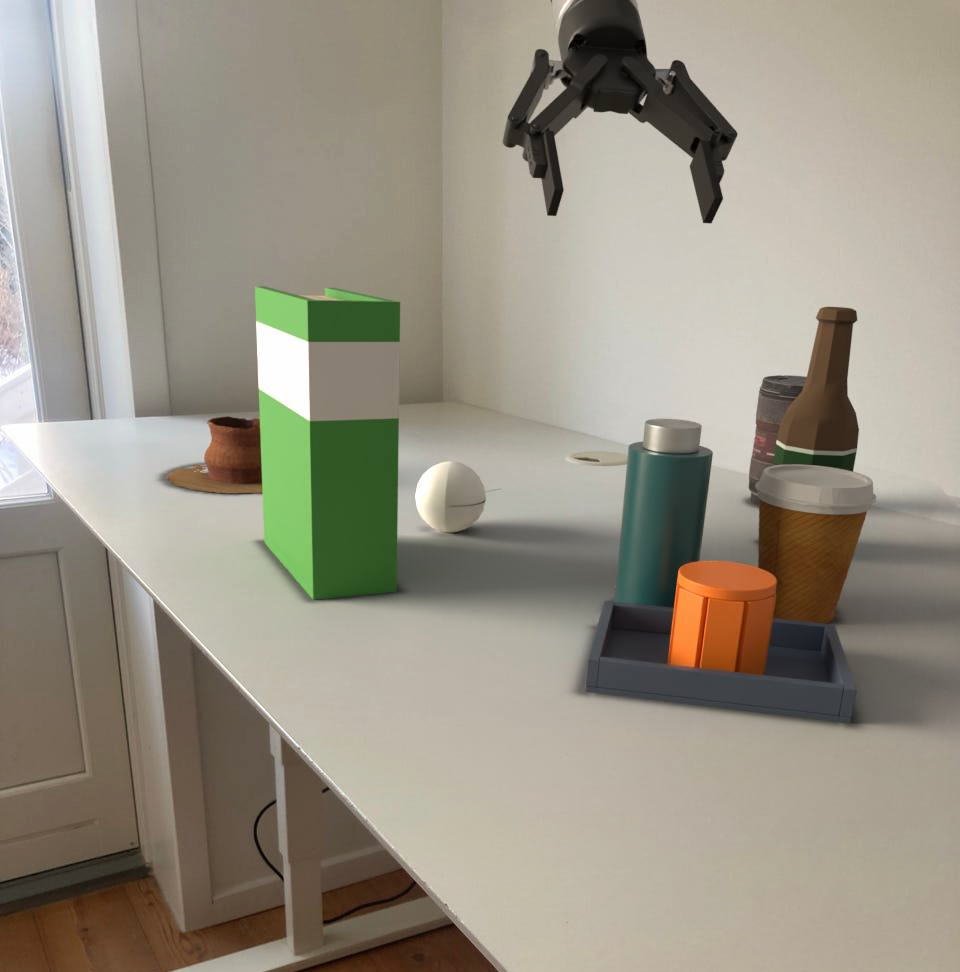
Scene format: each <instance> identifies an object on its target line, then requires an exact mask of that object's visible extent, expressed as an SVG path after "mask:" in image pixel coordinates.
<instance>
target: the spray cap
mask: <svg viewBox="0 0 960 972" xmlns="http://www.w3.org/2000/svg"><path fill="white" fill-rule="evenodd" d="M776 585H777V579H776V577H775V576H774V575H772V574H771V573H769V572H767V571H765V570H763V569H760V568H758V566H754V565H750V564H746V563H741V562H735V561H727V560H700V561H697V562H692V563H688V564H685V565H683V566H681V567H680V569H679V571H678V578H677V587H676V596H675V604H674V613H673V621H672V630H671V638H670V647H669V656H668V664H670V665H679V666H687V667H696V668H705V669H714V670H722V671H731V672H740V673H749V674H758V675H764V672H765V666H766V659H767V653H768V647H769V640H770V634H771V627H772V621H773V614H774V608H775V601H776V592H775V591H776Z"/></svg>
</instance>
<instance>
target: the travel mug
mask: <svg viewBox="0 0 960 972" xmlns="http://www.w3.org/2000/svg"><path fill="white" fill-rule="evenodd" d="M806 378H807V376H803V375H786V374H785V375H784V374H783V375H769V376H765V377H762V381H761V386H759V390H758V396H757V397H758V398H757V405H756V413H755V425H756V426H755V430H754V431H755V432H754V433H755V435H754V440H753V446H752V453H751V458H750V463H749V472H748V490H749V491H750V504H751V505H753V506H755V507H758V508H759V498H758V496H757V493H758V491H757V490H756V489H755V485H756V483H757V482H759V481H760V479H761V476H762V474H763V471H764V469H765V468H767V467H770V466H773V461H774V455H775V448H776V441H777V436H778V432H779V427H780V423H781V420H782V419H783V417H784V415H785V413H786V411H787V409H788V407H789V406H790V405H791V404H792V402H793V401H794V400H795V399H796V398H797V397H798V395H799V394H800V393H801V392H802V389H803V386H804V383H805V381H806Z"/></svg>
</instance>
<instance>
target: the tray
mask: <svg viewBox="0 0 960 972" xmlns="http://www.w3.org/2000/svg"><path fill="white" fill-rule="evenodd" d="M673 613H674V608H671V607H662V606H652V605H642V604H633V603H623V602H614V600H613V601H612V600H604V601H603V605H602V608H601V611H600V615H599V618H598V622H597V625H596V628H595V633H594V636H593V638H592V643H591V646H590V650H589V653H588V657H587V663H586V664H587V665H586V672H585V673H586V674H585V686H584V687H585V688H584V692H585V693H594V694H601V695H609V696H616V697H617V696H618V697H625V698H635V699H642V700H652V701H657V702H658V701H660V702H668V703H675V704H683V705H684V704H685V705H692V706H701V707H707V708H708V707H709V708H718V709H726V710H733V711H742V712H752V713H759V714H768V715H775V716H784V717H791V718H801V719H809V720H816V721H826V722H833V723H842V724H851V722H852V716H853V712H854V706H855V701H856V698H857V697H856V696H857V692H858V691H857V687H856V685H855V681H854V679H853V675H852V672H851V669H850V666H849V663H848V661H847V657H846V655H845V651H844V649H843V644H842V642H841V640H840V637H839V634H838V631H837V628H836V625H835V624H832V623H825V624H823V623H815V622H805V621H796V620H786V619H777V618H773V621H772V627H771V634H770V640H769V647H768V653H767V659H766V666H765V672H764V675H758V674H749V673H740V672H731V671H722V670H714V669H705V668H696V667H687V666H679V665H670V664H668V656H669V647H670V638H671V630H672V621H673Z"/></svg>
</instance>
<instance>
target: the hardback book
mask: <svg viewBox="0 0 960 972" xmlns="http://www.w3.org/2000/svg"><path fill="white" fill-rule="evenodd" d="M254 297H255V302H254V303H255V324H256V325H255V326H256V327H255V328H256V350H257V351H256V352H257V353H256V354H257V355H256V357H257V379H258V380H257V381H258V405H259V406H258V407H259V419H260V436H261V463H262V490H263V493H262V510H263V511H262V516H263V535H264V536H263V541H264V544H265V545H266V547H268V549H269V550H270V552H272V554H274V556H275V557H276V558H277V559H278V561H280V563H281V564H282V565H283V566H284V568H285V569H286V570H287V571H288V573H290V575H291V576H292V577H293V578H294V579H295V581H296V582H297V583H298V584H299V586H301V587H302V589H303V590H304V591H305V592H306V594H308V596H309V597H310V598H311V599H312V600H313V601H315V600H324V599H335V598H345V597H353V596H363V595H364V596H365V595H372V594H383V593H391V592H398V522H399V521H398V518H399V516H398V513H399V511H398V509H399V441H400V440H399V439H400V438H399V434H400V433H399V432H400V431H399V430H400V429H399V428H400V359H401V357H400V354H401V353H400V351H401V350H400V349H401V347H400V346H401V342H400V341H401V302H400V301H397V300H393V299H387V298H384V297H378V296H373V295H370V294H364V293H360V292H356V291H350V290H346V289H341V288H336V287H324V295H315V294H314V295H309V294H308V295H307V294H306V295H305V294H295V293H291V292H289V291H288V292H287V291H284V290H280V289H276V288H272V287H268V286H261V285H259V286H254Z"/></svg>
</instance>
